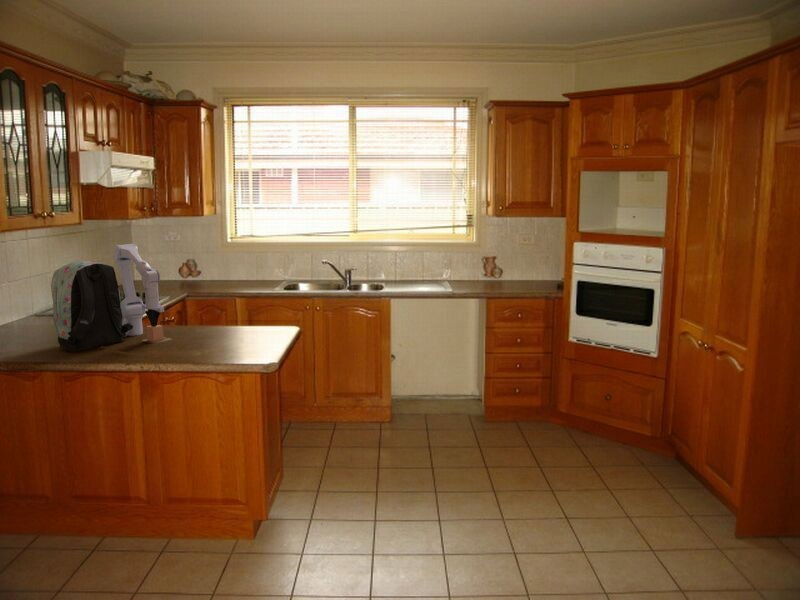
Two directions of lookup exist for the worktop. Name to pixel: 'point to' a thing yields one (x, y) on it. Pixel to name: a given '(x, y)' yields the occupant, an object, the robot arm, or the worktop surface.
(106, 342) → the backpack
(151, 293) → the robot arm
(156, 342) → the board
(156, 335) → the pink rectangular block
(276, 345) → the worktop surface
